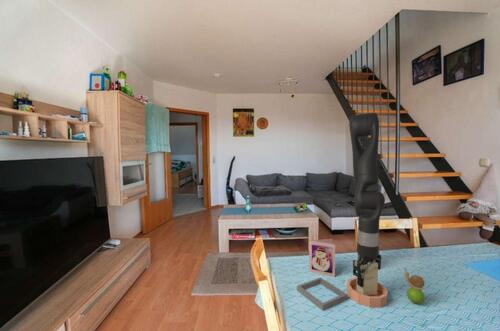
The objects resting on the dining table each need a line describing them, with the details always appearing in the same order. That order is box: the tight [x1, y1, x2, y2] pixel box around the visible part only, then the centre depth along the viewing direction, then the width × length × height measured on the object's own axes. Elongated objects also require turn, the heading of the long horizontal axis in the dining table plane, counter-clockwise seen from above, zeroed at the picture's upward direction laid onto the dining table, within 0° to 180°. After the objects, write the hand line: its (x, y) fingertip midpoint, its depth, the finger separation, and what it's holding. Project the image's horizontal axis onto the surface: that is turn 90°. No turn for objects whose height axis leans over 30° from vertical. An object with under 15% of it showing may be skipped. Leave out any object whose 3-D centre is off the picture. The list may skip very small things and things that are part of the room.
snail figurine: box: [404, 267, 425, 305], centre depth 89 cm, size 5×6×12 cm
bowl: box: [346, 276, 388, 308], centre depth 93 cm, size 14×14×4 cm
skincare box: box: [357, 262, 379, 295], centre depth 92 cm, size 6×4×12 cm
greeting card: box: [308, 238, 336, 278], centre depth 111 cm, size 11×7×15 cm, turn 64°
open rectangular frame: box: [296, 277, 349, 312], centre depth 94 cm, size 13×14×2 cm
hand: (366, 283), depth 93 cm, fingers closed on skincare box, 7 cm apart
